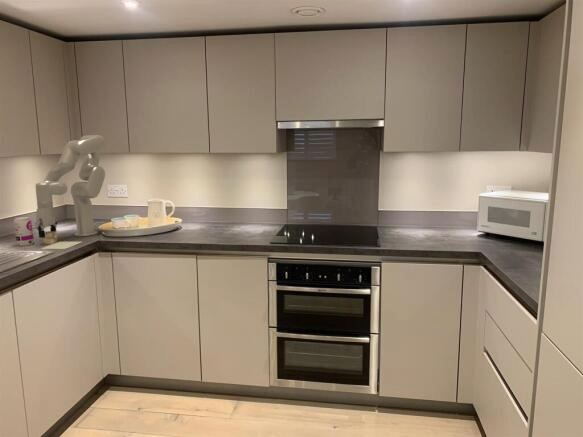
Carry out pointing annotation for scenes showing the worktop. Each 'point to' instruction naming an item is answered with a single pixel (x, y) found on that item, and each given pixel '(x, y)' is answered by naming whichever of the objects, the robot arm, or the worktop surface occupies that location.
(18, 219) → the supplement can
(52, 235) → the birch block
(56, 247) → the sage mat
